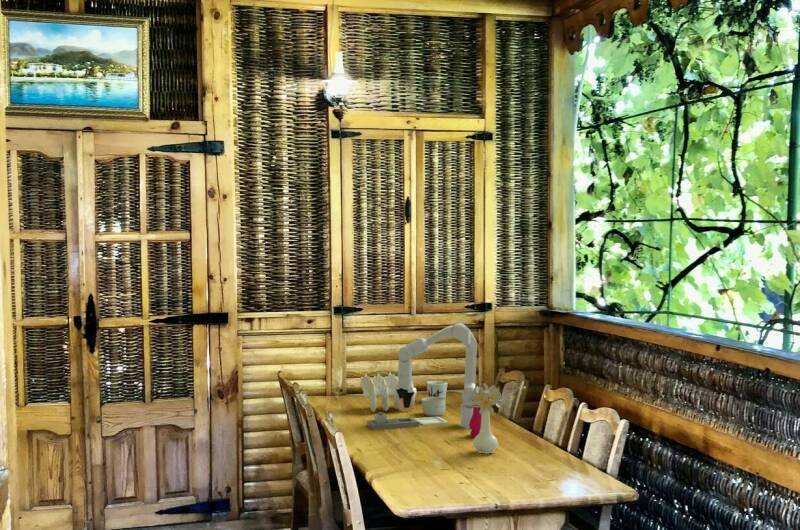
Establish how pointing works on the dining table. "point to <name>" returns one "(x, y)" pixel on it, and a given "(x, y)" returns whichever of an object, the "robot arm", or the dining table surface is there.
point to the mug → (436, 388)
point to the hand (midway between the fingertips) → (405, 406)
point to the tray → (431, 421)
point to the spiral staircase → (382, 390)
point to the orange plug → (403, 406)
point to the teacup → (433, 406)
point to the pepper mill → (475, 420)
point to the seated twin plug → (380, 418)
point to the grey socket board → (394, 423)
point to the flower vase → (486, 417)
